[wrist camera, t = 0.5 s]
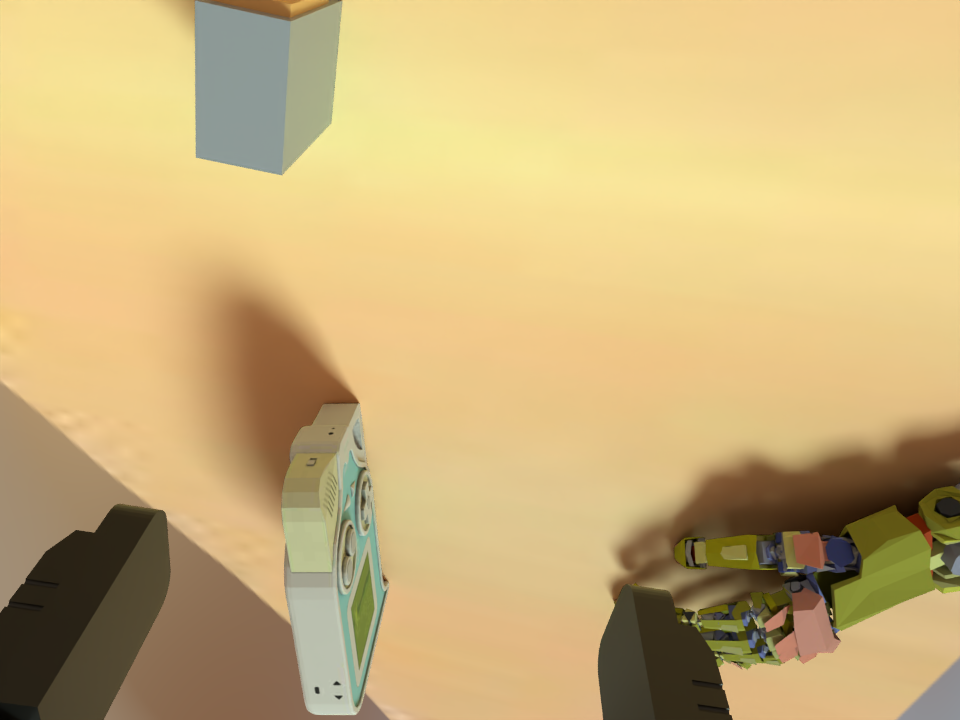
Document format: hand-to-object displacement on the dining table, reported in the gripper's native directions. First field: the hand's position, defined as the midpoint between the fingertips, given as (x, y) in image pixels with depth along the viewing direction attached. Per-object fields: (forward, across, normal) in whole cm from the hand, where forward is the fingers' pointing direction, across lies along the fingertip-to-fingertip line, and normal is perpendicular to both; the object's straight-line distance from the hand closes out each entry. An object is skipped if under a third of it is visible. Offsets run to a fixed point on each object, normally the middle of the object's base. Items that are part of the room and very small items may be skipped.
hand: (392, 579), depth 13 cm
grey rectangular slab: (+24, +3, +20) cm, 32 cm away
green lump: (+24, -25, +19) cm, 40 cm away
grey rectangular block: (+24, +8, -4) cm, 25 cm away
